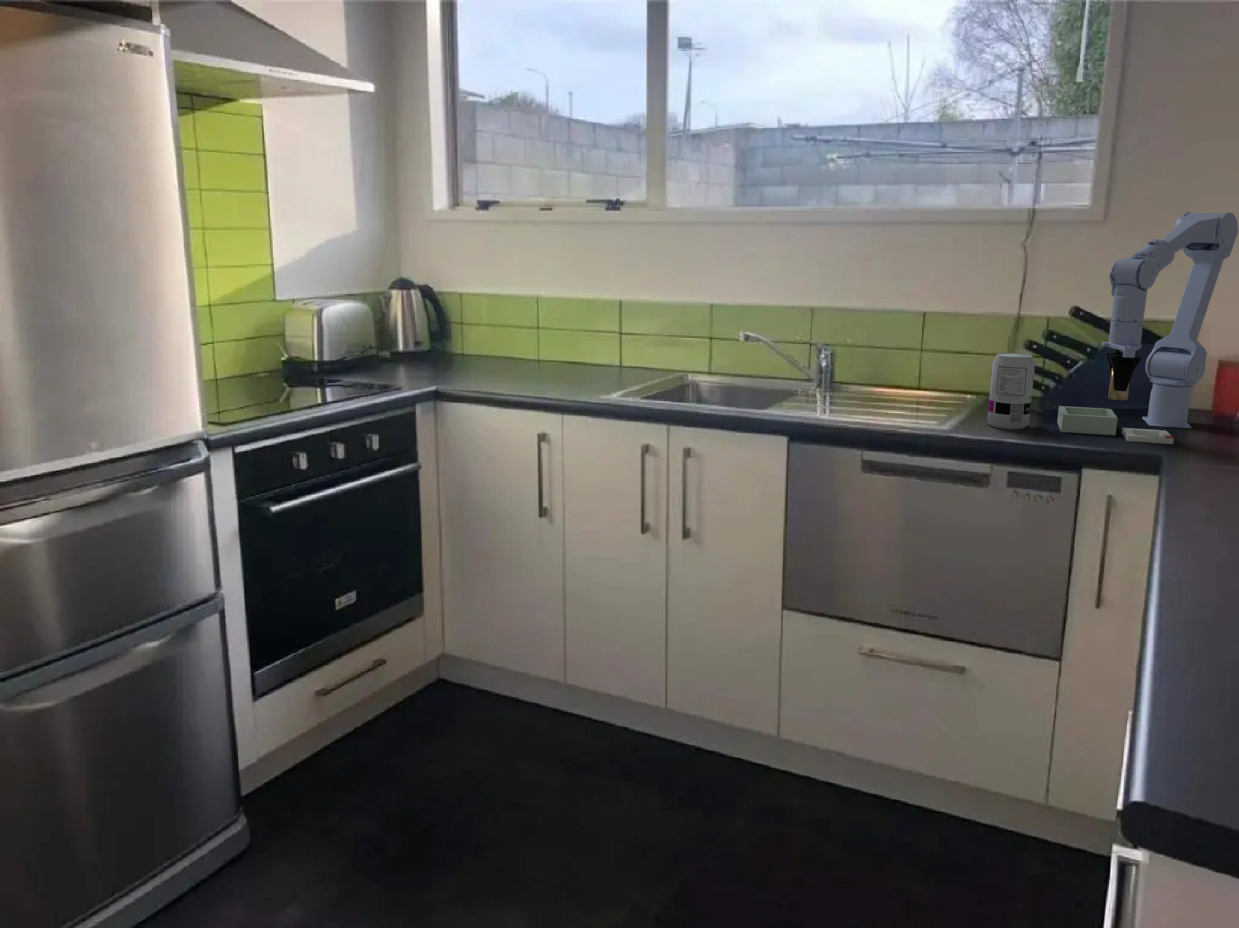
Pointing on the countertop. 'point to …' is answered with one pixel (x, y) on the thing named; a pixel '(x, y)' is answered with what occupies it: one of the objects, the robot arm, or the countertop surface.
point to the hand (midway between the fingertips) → (1118, 389)
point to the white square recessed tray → (1147, 435)
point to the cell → (1117, 394)
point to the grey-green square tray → (1087, 420)
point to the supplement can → (1011, 390)
